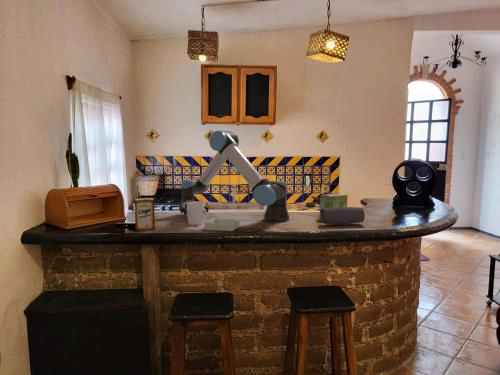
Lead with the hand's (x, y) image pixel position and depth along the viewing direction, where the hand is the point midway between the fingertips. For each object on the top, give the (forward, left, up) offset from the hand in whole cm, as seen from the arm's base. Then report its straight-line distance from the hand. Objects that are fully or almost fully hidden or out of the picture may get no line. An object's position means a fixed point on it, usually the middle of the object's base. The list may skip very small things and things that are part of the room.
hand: (197, 212), depth 197 cm
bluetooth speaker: (-78, -22, -7) cm, 81 cm away
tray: (-16, +2, -7) cm, 17 cm away
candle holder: (+3, -4, -7) cm, 9 cm away
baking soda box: (+22, +16, -7) cm, 29 cm away
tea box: (-73, -42, -7) cm, 84 cm away
